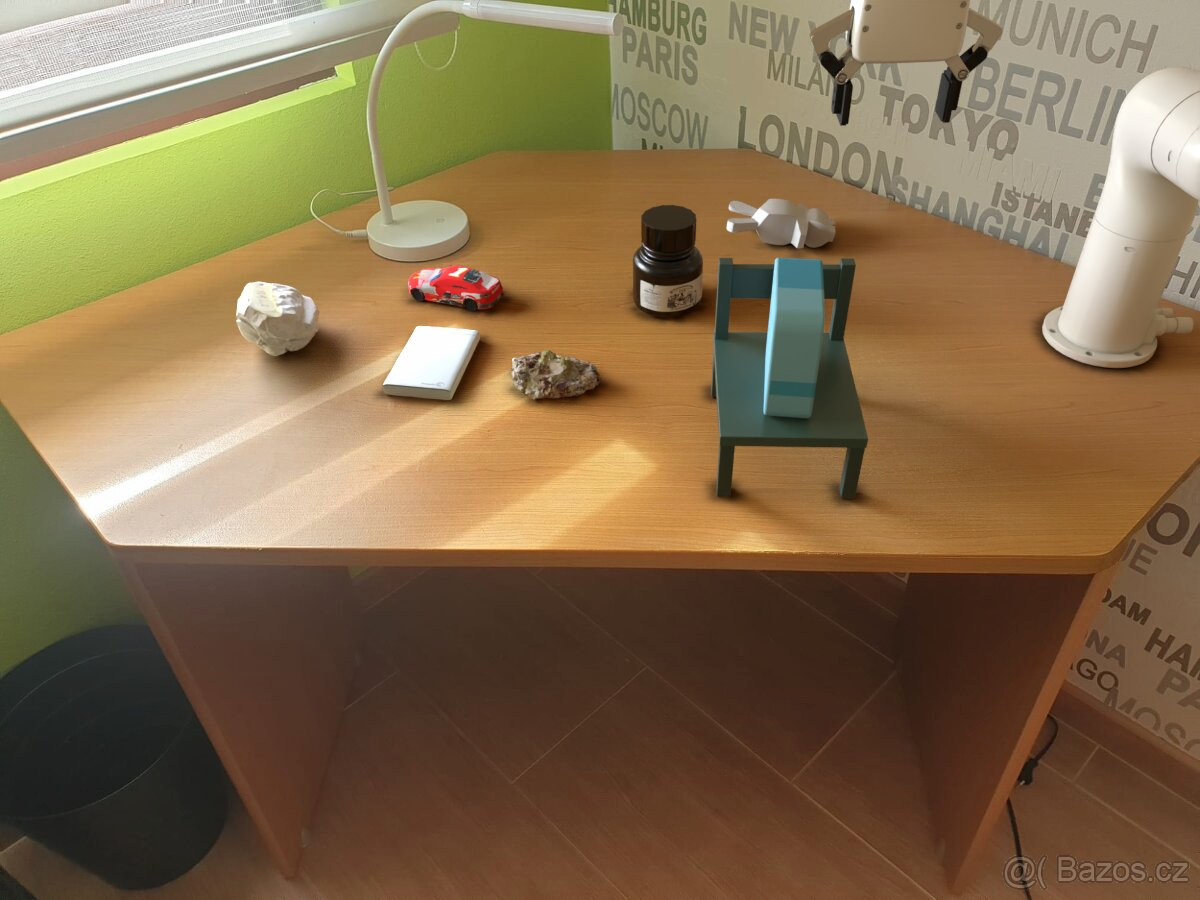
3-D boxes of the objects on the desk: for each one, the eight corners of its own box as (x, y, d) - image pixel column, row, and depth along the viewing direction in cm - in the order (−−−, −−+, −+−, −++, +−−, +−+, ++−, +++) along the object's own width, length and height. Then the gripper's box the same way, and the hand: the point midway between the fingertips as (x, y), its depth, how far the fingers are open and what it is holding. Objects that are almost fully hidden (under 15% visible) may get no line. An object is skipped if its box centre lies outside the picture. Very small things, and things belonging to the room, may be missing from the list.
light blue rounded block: (810, 425, 92) (825, 320, 84) (762, 422, 93) (774, 317, 85) (808, 354, 101) (822, 253, 93) (765, 351, 102) (775, 251, 94)
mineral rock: (499, 385, 108) (515, 331, 112) (504, 408, 111) (519, 355, 116) (593, 396, 106) (605, 341, 111) (595, 419, 110) (606, 365, 114)
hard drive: (450, 389, 109) (479, 329, 118) (381, 383, 110) (415, 324, 119) (451, 401, 110) (480, 340, 119) (384, 395, 111) (417, 335, 120)
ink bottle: (642, 325, 121) (642, 240, 113) (621, 291, 127) (620, 207, 119) (714, 312, 122) (719, 227, 115) (690, 278, 129) (693, 196, 121)
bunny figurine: (839, 231, 129) (729, 214, 130) (829, 264, 133) (723, 247, 134) (836, 199, 137) (732, 184, 137) (827, 231, 140) (726, 216, 141)
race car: (401, 299, 127) (396, 272, 125) (422, 279, 131) (417, 253, 128) (490, 316, 123) (486, 289, 120) (508, 295, 127) (505, 269, 124)
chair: (832, 391, 109) (854, 257, 98) (856, 499, 96) (884, 359, 84) (710, 389, 110) (717, 257, 99) (715, 497, 96) (725, 357, 85)
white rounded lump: (297, 309, 126) (230, 346, 121) (274, 253, 121) (203, 290, 116) (346, 338, 119) (278, 378, 114) (324, 280, 113) (251, 320, 109)
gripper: (1012, -91, 84) (971, 101, 96) (815, -83, 85) (797, 106, 97) (1039, -70, 79) (992, 131, 90) (827, -62, 80) (807, 137, 91)
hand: (891, 118), depth 93 cm, fingers open, 9 cm apart
